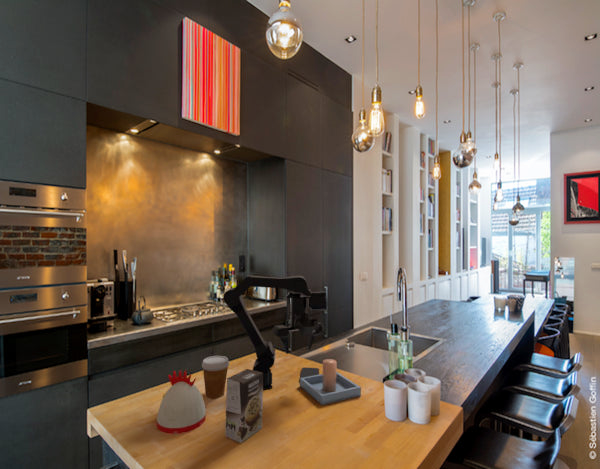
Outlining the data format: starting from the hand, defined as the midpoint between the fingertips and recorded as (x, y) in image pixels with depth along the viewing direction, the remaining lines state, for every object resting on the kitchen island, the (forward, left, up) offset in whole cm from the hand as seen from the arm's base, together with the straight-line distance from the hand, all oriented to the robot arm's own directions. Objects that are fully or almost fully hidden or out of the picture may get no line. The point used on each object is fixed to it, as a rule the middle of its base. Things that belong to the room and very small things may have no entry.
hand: (298, 351), depth 126 cm
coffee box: (-27, -20, -13) cm, 36 cm away
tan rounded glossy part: (+9, -8, -12) cm, 17 cm away
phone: (+9, +7, -14) cm, 18 cm away
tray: (+9, -8, -13) cm, 18 cm away
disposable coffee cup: (-29, +7, -13) cm, 33 cm away
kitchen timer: (-42, -6, -13) cm, 44 cm away
